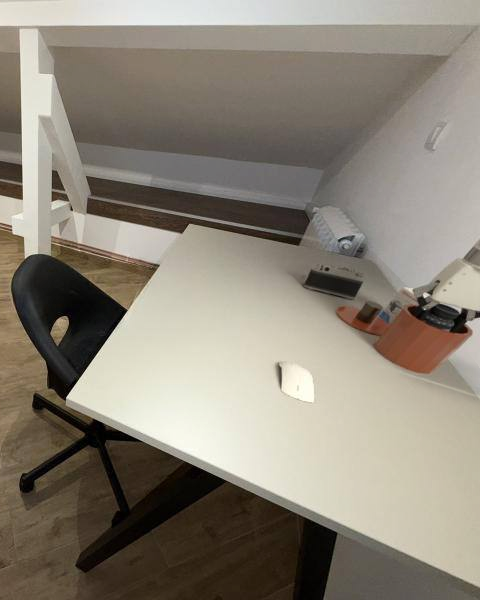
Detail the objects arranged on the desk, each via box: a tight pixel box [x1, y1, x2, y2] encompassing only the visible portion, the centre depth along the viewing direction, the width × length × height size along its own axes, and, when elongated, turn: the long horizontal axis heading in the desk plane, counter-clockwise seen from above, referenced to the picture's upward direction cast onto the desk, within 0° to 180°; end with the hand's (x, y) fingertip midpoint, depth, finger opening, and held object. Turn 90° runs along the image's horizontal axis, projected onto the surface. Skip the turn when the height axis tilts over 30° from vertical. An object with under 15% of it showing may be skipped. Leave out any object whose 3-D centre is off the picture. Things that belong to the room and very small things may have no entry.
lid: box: [335, 300, 389, 336], centre depth 94 cm, size 14×14×7 cm
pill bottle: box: [422, 303, 461, 331], centre depth 77 cm, size 6×6×11 cm
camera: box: [303, 263, 366, 300], centre depth 110 cm, size 16×9×10 cm, turn 68°
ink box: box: [378, 286, 443, 325], centre depth 93 cm, size 9×5×12 cm, turn 179°
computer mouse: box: [278, 361, 315, 403], centre depth 72 cm, size 7×12×2 cm, turn 156°
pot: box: [373, 304, 474, 375], centre depth 80 cm, size 13×13×13 cm
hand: (431, 324), depth 77 cm, fingers closed on pill bottle, 6 cm apart
